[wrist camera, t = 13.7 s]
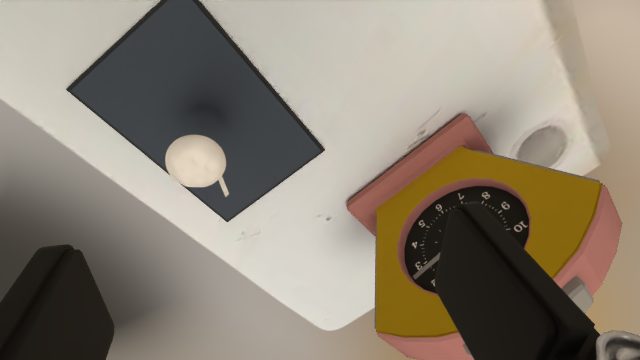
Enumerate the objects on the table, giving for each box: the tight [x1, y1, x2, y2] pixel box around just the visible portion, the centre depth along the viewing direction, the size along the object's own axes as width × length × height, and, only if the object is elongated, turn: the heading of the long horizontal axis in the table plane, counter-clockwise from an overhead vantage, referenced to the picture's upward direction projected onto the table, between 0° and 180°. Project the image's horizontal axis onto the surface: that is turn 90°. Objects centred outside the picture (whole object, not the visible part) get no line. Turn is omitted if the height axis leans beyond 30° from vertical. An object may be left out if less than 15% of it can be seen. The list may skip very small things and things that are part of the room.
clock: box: [346, 114, 622, 360], centre depth 36 cm, size 22×9×22 cm, turn 130°
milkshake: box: [165, 107, 229, 197], centre depth 32 cm, size 4×5×10 cm
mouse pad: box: [66, 0, 325, 222], centre depth 36 cm, size 20×14×1 cm
